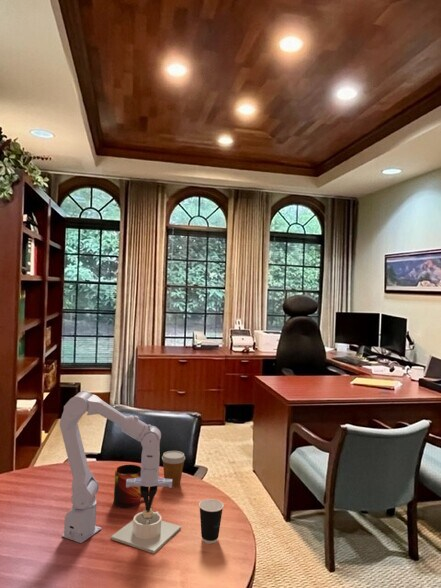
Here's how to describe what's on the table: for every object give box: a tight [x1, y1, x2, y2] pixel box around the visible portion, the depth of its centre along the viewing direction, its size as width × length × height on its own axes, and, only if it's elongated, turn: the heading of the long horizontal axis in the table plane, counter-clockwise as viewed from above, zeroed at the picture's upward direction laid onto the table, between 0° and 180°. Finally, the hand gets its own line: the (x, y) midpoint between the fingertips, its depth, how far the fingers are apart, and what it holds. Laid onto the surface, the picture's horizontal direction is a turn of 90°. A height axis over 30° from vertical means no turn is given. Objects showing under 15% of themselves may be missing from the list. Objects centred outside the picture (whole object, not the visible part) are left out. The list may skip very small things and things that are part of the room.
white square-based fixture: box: [110, 511, 182, 554], centre depth 140 cm, size 16×16×5 cm
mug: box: [113, 464, 149, 510], centre depth 163 cm, size 10×14×12 cm
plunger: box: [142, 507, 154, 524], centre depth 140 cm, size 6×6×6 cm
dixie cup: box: [198, 498, 225, 545], centre depth 139 cm, size 8×8×11 cm
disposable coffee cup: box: [161, 450, 186, 488], centre depth 178 cm, size 10×10×12 cm
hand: (148, 508), depth 140 cm, fingers closed
